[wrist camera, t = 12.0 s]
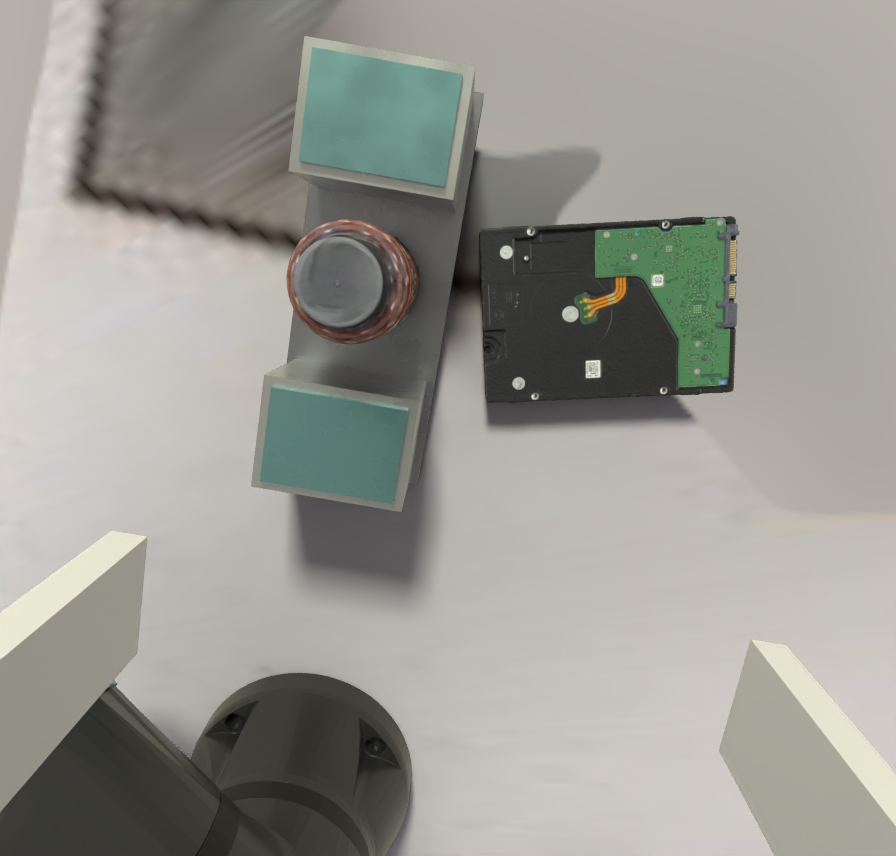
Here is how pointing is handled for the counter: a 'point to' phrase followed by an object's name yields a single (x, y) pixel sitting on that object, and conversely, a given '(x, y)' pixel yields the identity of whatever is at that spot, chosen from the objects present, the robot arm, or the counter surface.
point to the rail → (403, 215)
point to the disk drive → (609, 309)
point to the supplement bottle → (352, 281)
